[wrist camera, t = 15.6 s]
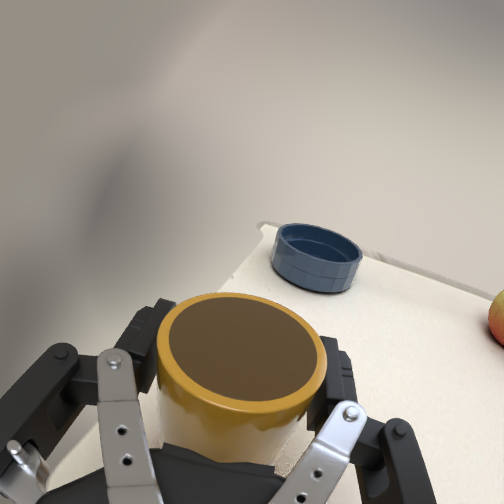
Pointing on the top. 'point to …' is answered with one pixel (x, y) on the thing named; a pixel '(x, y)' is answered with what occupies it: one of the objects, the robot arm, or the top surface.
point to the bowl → (315, 257)
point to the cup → (235, 376)
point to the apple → (497, 318)
